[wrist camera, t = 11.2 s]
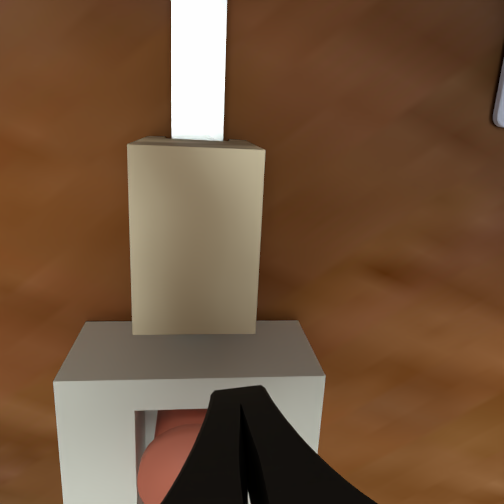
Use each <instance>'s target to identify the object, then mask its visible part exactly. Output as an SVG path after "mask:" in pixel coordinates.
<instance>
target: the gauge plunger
mask: <svg viewBox="0 0 504 504" xmlns="http://www.w3.org/2000/svg"><path fill="white" fill-rule="evenodd" d="M206 412H207V409H174V410H158V413H157V421H156V428H155V435H154V440H153V441H152V442H151V443H150V444H149V445H148V447H147V448H146V449H145V451H144V453H143V455H142V458H141V461H140V465H139V471H138V477H137V486H138V492H139V495H140V497H141V499H142V501H143V503H144V504H161V502H162V501H163V499H164V497H165V496H166V494H167V493H168V491H169V490H170V488H171V486H172V485H173V483H174V481H175V480H176V478H177V476H178V474H179V473H180V471H181V469H182V467H183V465H184V463H185V461H186V459H187V457H188V455H189V453H190V451H191V449H192V447H193V445H194V443H195V440H196V438H197V436H198V433H199V431H200V429H201V426H202V424H203V421H204V418H205V415H206Z"/></svg>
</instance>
